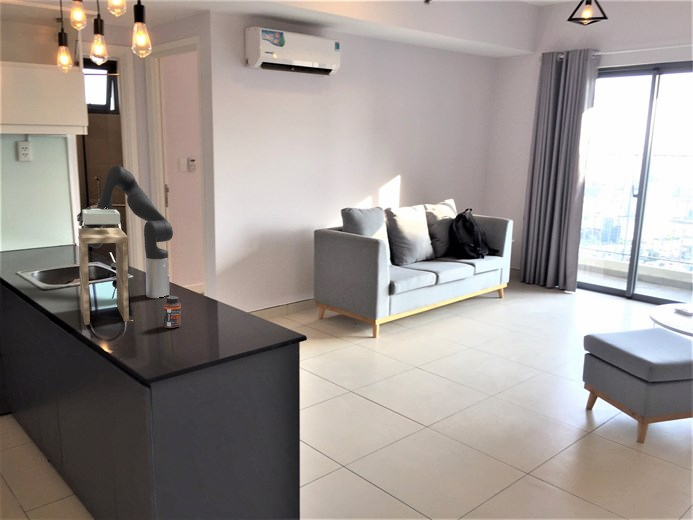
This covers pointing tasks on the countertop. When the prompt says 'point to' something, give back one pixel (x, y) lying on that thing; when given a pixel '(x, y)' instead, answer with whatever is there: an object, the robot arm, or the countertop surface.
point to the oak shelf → (121, 266)
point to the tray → (101, 216)
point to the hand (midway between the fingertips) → (96, 209)
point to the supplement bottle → (172, 312)
